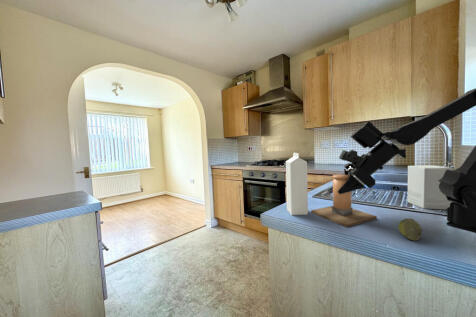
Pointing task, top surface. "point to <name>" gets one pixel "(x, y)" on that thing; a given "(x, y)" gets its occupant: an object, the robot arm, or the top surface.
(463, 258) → the top surface
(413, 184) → the supplement box
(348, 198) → the container with domed lid
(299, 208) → the milk
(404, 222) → the lime
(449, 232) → the top surface
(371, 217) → the thin square board
